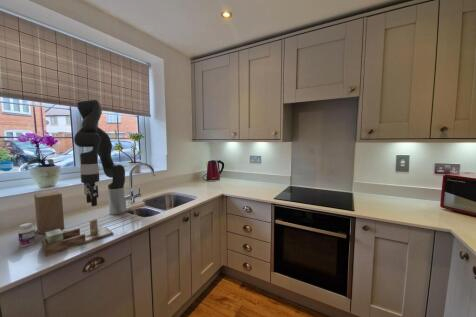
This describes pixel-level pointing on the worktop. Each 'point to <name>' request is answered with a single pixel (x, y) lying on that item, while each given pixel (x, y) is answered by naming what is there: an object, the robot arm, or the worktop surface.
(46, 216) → the wooden block
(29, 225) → the pill bottle
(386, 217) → the worktop surface
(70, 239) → the lane
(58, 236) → the string block
